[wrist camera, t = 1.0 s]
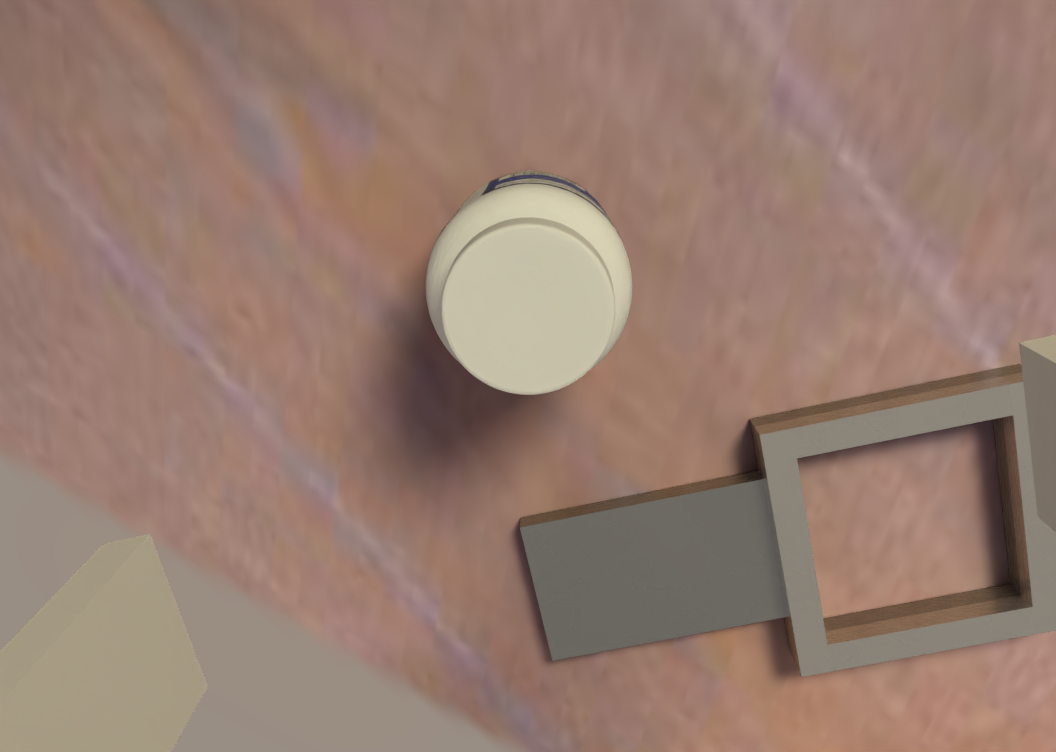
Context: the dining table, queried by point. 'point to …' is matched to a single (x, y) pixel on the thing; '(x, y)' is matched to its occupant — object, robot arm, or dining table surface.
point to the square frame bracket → (788, 543)
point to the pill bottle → (529, 283)
